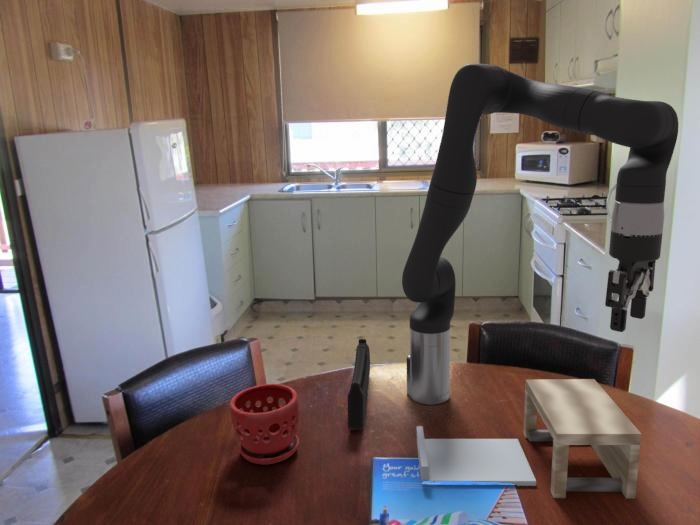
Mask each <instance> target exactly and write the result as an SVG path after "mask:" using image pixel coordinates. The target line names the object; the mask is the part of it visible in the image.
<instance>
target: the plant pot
mask: <svg viewBox="0 0 700 525" xmlns="http://www.w3.org/2000/svg"><path fill="white" fill-rule="evenodd" d="M268 398H272V401H269V400H268ZM298 398H299V397H298V394H297V391H296V390H295V389H294V388H293V387H291V386H289V385H286V384H279V383H264V384H258V385H255V386H251V387H248V388H246V389H243V390H241V391H239V392H238V393H236V394H235V395H234V396H233V397H232V398H231V400H230V402H229V410H230V417H231V422H232V426H233V429H234V434H235V436H236V437H237V438H236V439H237V440H238V441H239V443H240V445H239V452H240V454H241V456H242V458H244V459H245V460H247V462H250V463H252V464H257V465H265V466H268V465H272V464H277V463H280V462H283V461H285V460H287V459H289V458H290V457H291V456H293V455H294V453H295V452H296V450H298V447H299V445H300V439H299V436H298V435H297V432H298V431H297V430H298V426H299V415H300V414H299V413H300V410H299V399H298ZM280 399H282V400H284V402H285V405H284V406H282V405H281V404H280V403H279V400H280ZM258 401H259V402H260V405H258V406H257V405H256V403H257V402H258ZM247 402H250V403H249V405H247ZM265 407H266V408H267V409H266V410H265V409H264V408H265ZM273 408H276V409H274V410H273ZM240 409H242V410H240ZM251 411H252V412H251Z"/></svg>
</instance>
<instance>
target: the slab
mask: <svg viewBox="0 0 700 525" xmlns="http://www.w3.org/2000/svg"><path fill="white" fill-rule="evenodd" d="M416 449H417V456H418V458H419V459H418V464H419V465H420V467H419V474H420V473H421V476H420V482H421V481H422V482H423V481H433V482H435V481H453V482H454V481H472V482H473V481H475V482H477V481H478V482H497V483H498V482H500V483H510V484H511V483H512V484H515V485H517V486H516V487H520V486H522V487H523V486H525V487H529V486H530V487H531V486H532V487H536V486H537V480H536V477H535V475H534V473H533V470H532V468H531V466H530V463H529V461H528V459H527V456H526V454H525V452H524V450H523V447H522V446H521V443H520V441H519V439H518V438H425V433H424V426H423V425H416Z"/></svg>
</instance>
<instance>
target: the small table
mask: <svg viewBox="0 0 700 525" xmlns="http://www.w3.org/2000/svg"><path fill="white" fill-rule="evenodd" d="M523 411H524V413H523V432H522V433H523V436H524V438H525V439H528V441H529V442H552V459H551V476H550V479H551V480H550V493H551V495H552V498H553V499H566V498H567V492H615V493H616V492H621V493H622V495H623V496H624V497H625V499H628V500H629V499H633V500H634V499H636V496H637V485H638V474H639V466H640V453H641V445H642V444H641V443H642V433H641V432H640V430H639V429H638V428H637V427H636V426H635V425H634V424H633V422H632V421H631V420H630V419H629V417H628V416H627V415H626V414H625V413H624V412H623V411H622V410H621V408H620V407H619V405H617V403H616V402H615V401H614V400H613V399H612V398H611V396H609V394H608V393H607V392H606V390H604V388H603V387H602V386H601V385H600V383H598V382H597V380H596V379H595V378H581V379H580V378H579V379H578V378H571V379H569V378H567V379H561V378H559V379H557V378H556V379H555V378H554V379H549V378H548V379H547V378H546V379H541V378H540V379H539V378H538V379H525V386H524V408H523ZM537 413H538V414H539V416H540V418H541V419H542V421H543V423H544V425H545V427H546V429H537ZM570 446H590V447H591V448H592V449H593V451H594V453H595V454H596V455H597V457H598V458H599V459H600V460H599V461H601V463H602V464H603V466H604V467H605V469H606V471H607V472H608V474H609V476H611V477H568V467H569V466H568V465H569V464H568V463H569V452H570Z"/></svg>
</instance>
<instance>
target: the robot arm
mask: <svg viewBox="0 0 700 525" xmlns="http://www.w3.org/2000/svg"><path fill="white" fill-rule="evenodd" d="M446 104H447V105H446V111H445V117H444V122H443V123H444V124H443V130H442V136H441V140H440V143H439V148H438V151H437V157H436V161H435V166H434V168H433V172H432V175H431V178H430V182H429V187H428V191H427V193H426V199H425V204H424V207H423V211H422V214H421V218H420V221H419V225H418V228H417V232H416V235H415V237H414V241H413V244H412V247H411V250H410V251H409V254H408V257H407V260H406V263H405V265H404V268H403V270H402V276H401V283H402V284H401V285H402V290H403V293H404V295H405V297H406V298H407V299H408V300H409V301H411V302H413V303H419V304H418V306H417V308H415V310H413V312H412V313H411V314H410V316H409V355H407V356H406V394H407V395H409V396H410V399H412V400H413V401H414V402H417V403H419V404H422V405H433V406H434V405H440V404H444V403H446V402H447V401H448V400H449V399H450V389H451V387H450V382H451V381H450V380H451V377H450V376H451V374H450V372H451V371H450V370H451V369H450V368H451V321H452V319H453V316H454V313H455V300H456V285H457V284H456V282H457V281H456V274H455V270H454V267H453V265H452V264H451V262H450V261H449V260H448V259H447V258H445V257H443V256H442V254H443V251H444V249H445V248H446V245H447V244H448V242H449V241H450V239H451V238H452V237H453V236H454V234H455V233H456V231H457V230H458V229H459V228H460V226H461V225H462V223H463V221H464V220H465V219H466V217H467V215H468V213H469V210H470V208H471V205H472V203H473V202H472V201H473V198H474V196H475V195H474V194H475V192H476V187H477V183H478V182H477V181H478V175H477V167H476V166H477V165H476V161H475V159H476V158H475V155H474V142H475V138H476V134H477V130H478V127H479V123H480V120H481V117H482V116H483V115H492V114H497V113H499V114H501V113H504V114H518V115H525V116H529V117H532V118H535V119H538V120H540V121H542V122H544V123H545V124H549V125H552V126H554V127H557V128H560V129H564V130H567V131H571V132H576V133H579V134H584V135H589V136H595V137H598V138H600V139H602V140H605V141H607V142H610V143H612V144H616V145H620V146H623V147H626V148H629V152H628V157H627V161H626V162H625V163H624V164H623V165H622V166H621V167H620V168H619V169H618V172H617V177H616V184H615V196H614V204H613V210H612V214H611V223H610V224H611V225H610V236H609V247H608V254H609V256H610V257H611V258H613V259H616V260H618V265H617V268H616V269H615V270H614V269H613V270H612V269H610V270H609V271H608V275H607V285H606V294H605V306H604V307H606V308H611V313H610V323H609V324H610V325H609V328H610V330H611V331H614V332H617V333H618V332H619V333H623V332H624V331H626V328H627V319H628V318H627V317H628V308H629V304H630V309H629V310H630V311H629V316H630V317H632V318H634V319H639V320H642V319H644V318H645V316H646V310H647V308H646V307H647V300H648V297H649V296H650V292H653V290H654V286H655V285H654V284H655V283H654V282H655V281H654V280H655V272H656V263H657V262H656V261H658V260H659V259H660V258H661V252H662V244H663V243H662V241H663V231H664V224H665V223H664V221H665V195H666V194H665V193H666V185H667V184H666V182H667V174H668V173H667V172H668V169H669V167H670V164H671V161H672V158H673V154H674V151H675V148H676V147H675V146H676V145H677V144H676V143H677V140H678V135H679V118H678V117H679V116H678V114H677V111H676V110H675V109H674V107H673V106H672V105H671V104H669V103H667V102H664V101H659V100H639V99H631V98H624V97H619V96H613V95H612V94H609V93H608V92H604V91H599V90H595V89H588V88H583V87H578V86H572V85H571V86H570V85H566V84H565V85H564V84H557V83H556V84H555V83H549V82H542V81H538V80H535V79H531V78H528V77H525V76H523V75H520V74H517V73H516V72H513V71H510V70H507V69H505V68H503V67H501V66H500V65H499V66H498V65H495V64H489V63H488V64H486V63H477V62H473V63H467V64H465V65H464V64H463V66H461V67H460V68H459V69H458V70H457V72H456V73H455V75H454V77H453V78H452V82H451V85H450V88H449V93H448V99H447V103H446Z"/></svg>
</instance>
